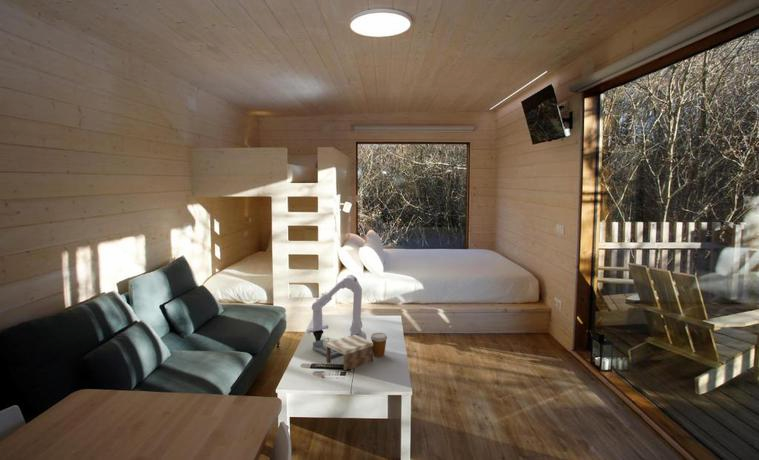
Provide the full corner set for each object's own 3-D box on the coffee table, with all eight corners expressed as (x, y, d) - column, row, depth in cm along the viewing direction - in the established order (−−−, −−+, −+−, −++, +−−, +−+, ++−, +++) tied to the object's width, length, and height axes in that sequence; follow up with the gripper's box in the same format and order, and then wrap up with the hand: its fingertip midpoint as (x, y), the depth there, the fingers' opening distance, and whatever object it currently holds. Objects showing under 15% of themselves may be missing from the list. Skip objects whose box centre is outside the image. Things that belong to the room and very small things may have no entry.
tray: (327, 344, 276) (327, 335, 275) (345, 353, 263) (345, 343, 262) (312, 349, 268) (312, 339, 268) (330, 358, 255) (330, 348, 255)
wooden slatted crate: (354, 352, 264) (354, 334, 263) (373, 361, 252) (373, 342, 250) (326, 361, 250) (326, 342, 249) (344, 371, 238) (344, 351, 237)
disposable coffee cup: (385, 359, 254) (385, 338, 253) (369, 357, 256) (369, 337, 255) (388, 352, 264) (388, 333, 262) (372, 351, 266) (372, 331, 264)
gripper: (323, 316, 280) (323, 337, 282) (303, 321, 270) (304, 343, 272) (330, 319, 275) (330, 340, 276) (310, 324, 265) (310, 346, 267)
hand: (317, 342), depth 274 cm, fingers closed
